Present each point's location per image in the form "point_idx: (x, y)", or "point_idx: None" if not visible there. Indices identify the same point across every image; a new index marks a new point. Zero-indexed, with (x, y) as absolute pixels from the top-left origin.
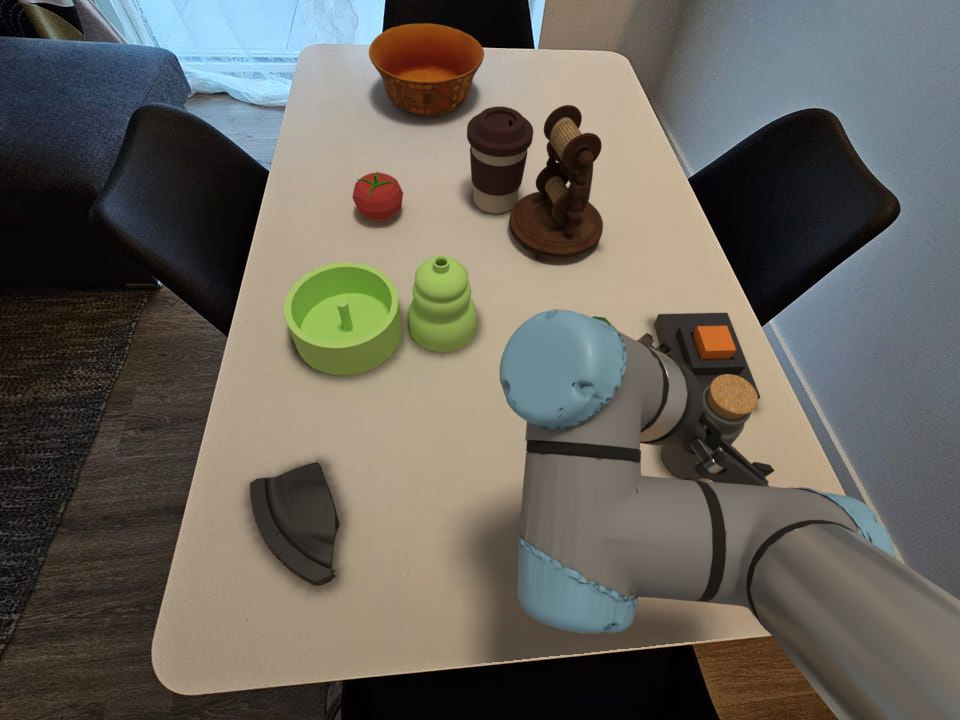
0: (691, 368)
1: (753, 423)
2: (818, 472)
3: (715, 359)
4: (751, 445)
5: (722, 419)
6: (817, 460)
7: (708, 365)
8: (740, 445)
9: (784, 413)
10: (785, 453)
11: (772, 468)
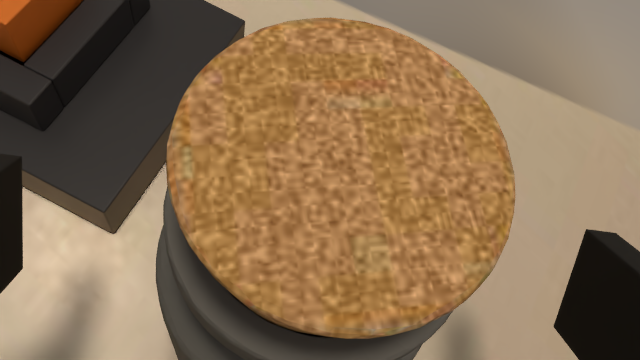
0: (6, 159)
1: None
2: (466, 69)
3: (59, 24)
4: None
5: (414, 329)
6: (440, 48)
7: (60, 58)
8: None
9: (303, 11)
10: None
11: (609, 235)
